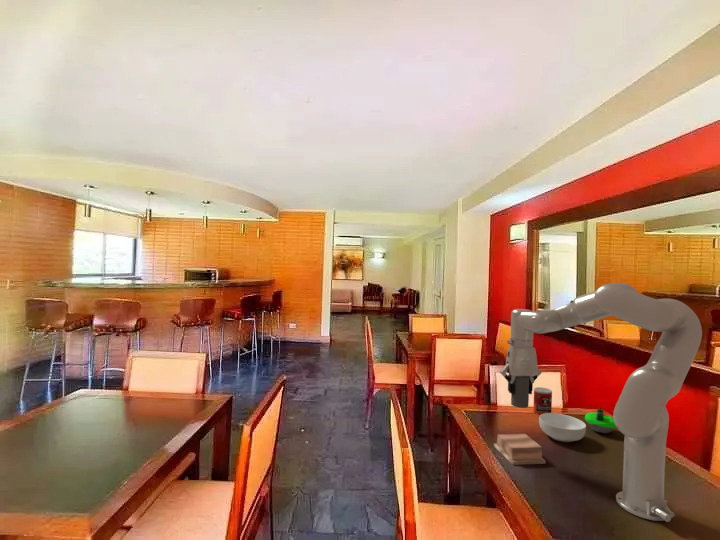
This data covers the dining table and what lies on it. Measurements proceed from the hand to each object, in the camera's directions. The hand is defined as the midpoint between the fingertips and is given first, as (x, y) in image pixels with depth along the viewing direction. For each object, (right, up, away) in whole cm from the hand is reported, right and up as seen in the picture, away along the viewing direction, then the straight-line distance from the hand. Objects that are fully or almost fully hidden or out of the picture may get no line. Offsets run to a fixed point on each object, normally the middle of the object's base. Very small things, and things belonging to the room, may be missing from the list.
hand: (520, 392), depth 142 cm
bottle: (0, -5, 0) cm, 5 cm away
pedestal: (0, -22, 0) cm, 22 cm away
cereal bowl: (+23, -23, +15) cm, 36 cm away
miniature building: (+43, -23, +23) cm, 54 cm away
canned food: (+28, -23, +42) cm, 55 cm away
